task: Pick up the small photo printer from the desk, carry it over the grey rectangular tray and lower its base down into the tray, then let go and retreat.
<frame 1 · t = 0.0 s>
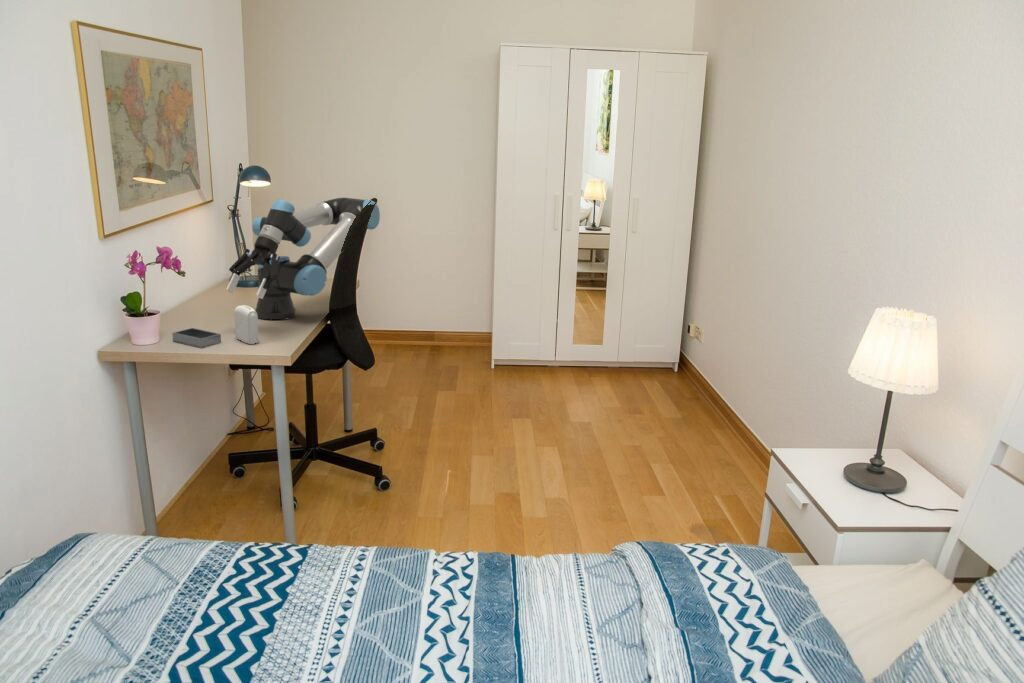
hand: (244, 294, 251), 15 cm above the table, tool tilted 35°, fingers open, 13 cm apart
grey rectangular tray: (197, 342, 247), on the table
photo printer: (247, 341, 251), on the table
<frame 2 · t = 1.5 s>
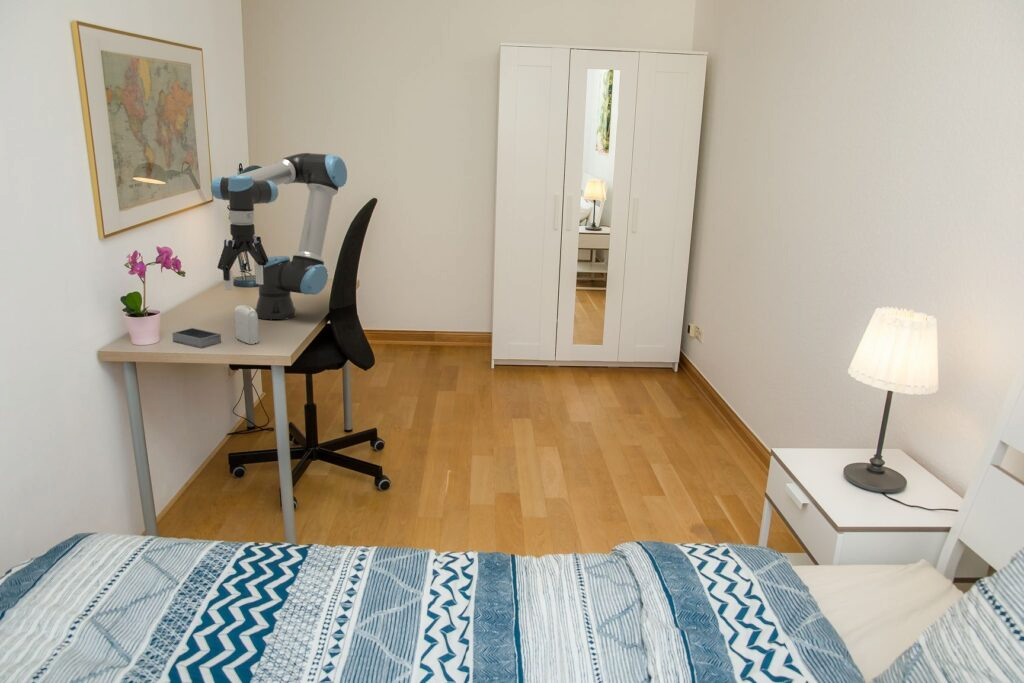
hand: (244, 287, 246), 19 cm above the table, tool pointing down, fingers open, 13 cm apart
nothing on the table moved.
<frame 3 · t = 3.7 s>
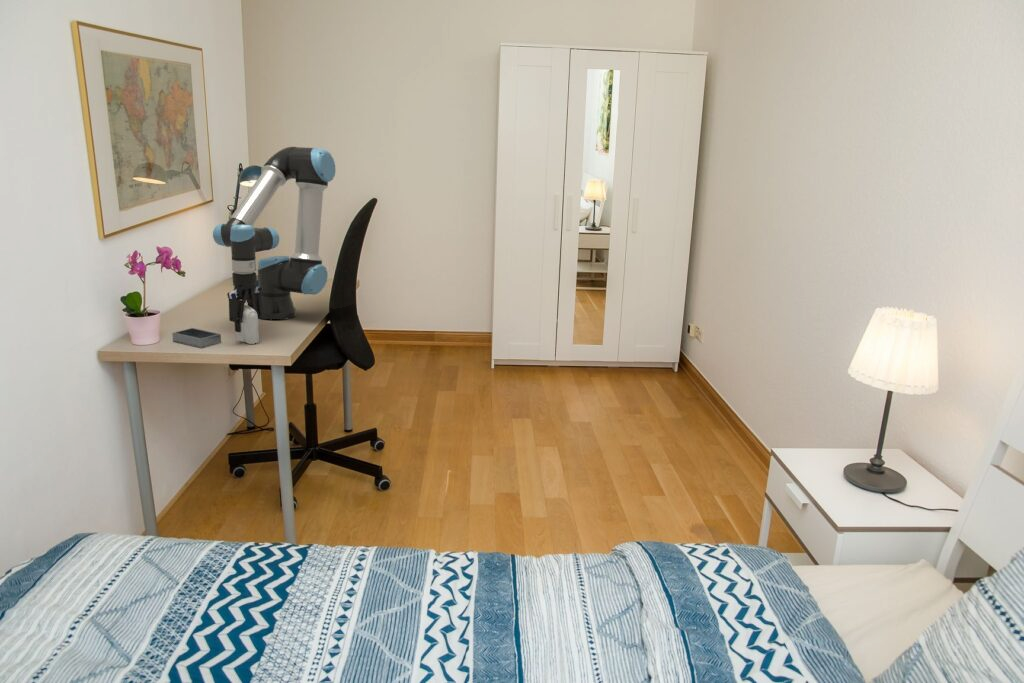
hand: (247, 338, 251), 1 cm above the table, tool pointing down, fingers closed on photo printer, 5 cm apart
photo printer: (247, 341, 251), on the table, touching gripper
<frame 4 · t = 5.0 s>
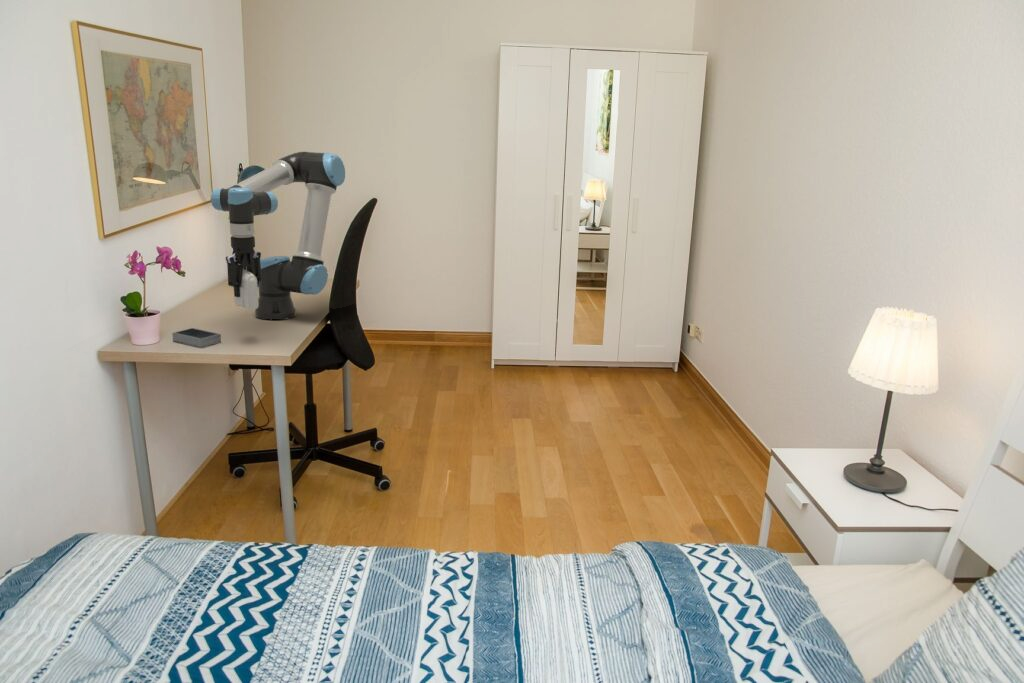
hand: (246, 304, 248), 13 cm above the table, tool pointing down, fingers closed on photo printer, 5 cm apart
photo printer: (246, 307, 248), point 12 cm above the table, touching gripper
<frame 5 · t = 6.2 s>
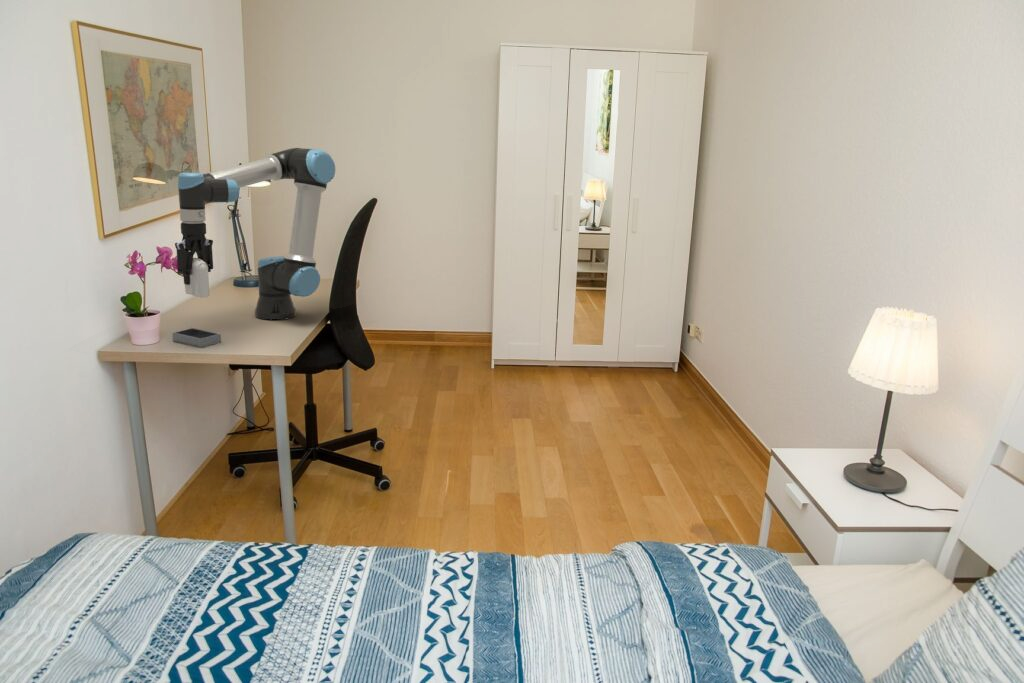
hand: (197, 292, 242), 17 cm above the table, tool pointing down, fingers closed on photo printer, 5 cm apart
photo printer: (197, 295, 242), point 16 cm above the table, touching gripper
when the fingers open (3 cm above the table, at t = 8.3 s): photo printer drops 2 cm, resting on grey rectangular tray.
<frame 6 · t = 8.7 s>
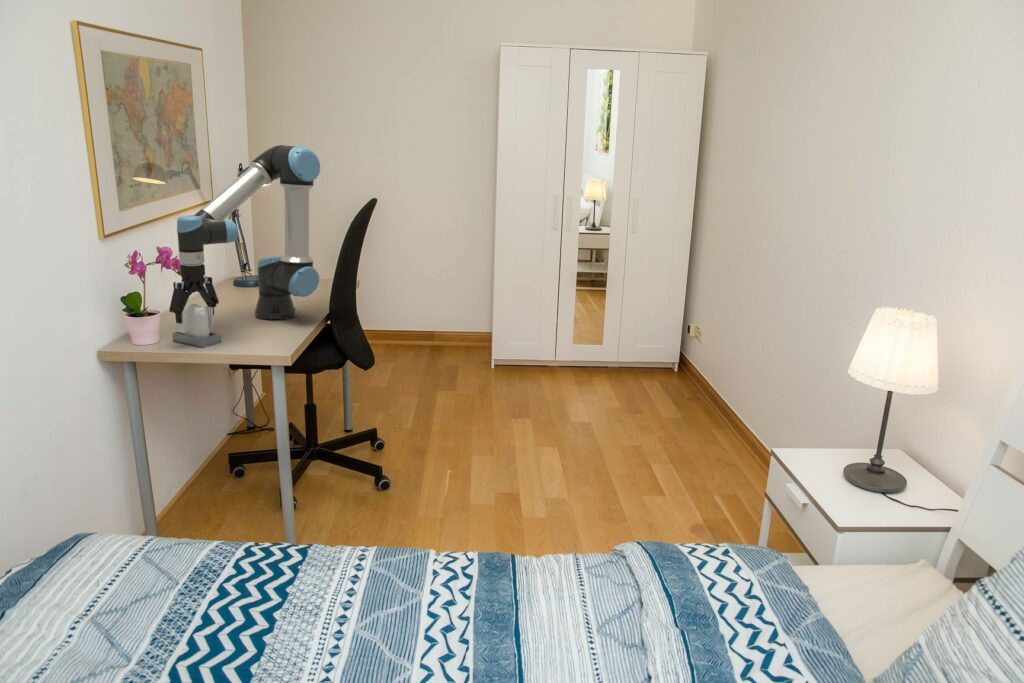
hand: (196, 328, 246), 5 cm above the table, tool pointing down, fingers open, 11 cm apart
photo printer: (197, 340, 247), resting on grey rectangular tray
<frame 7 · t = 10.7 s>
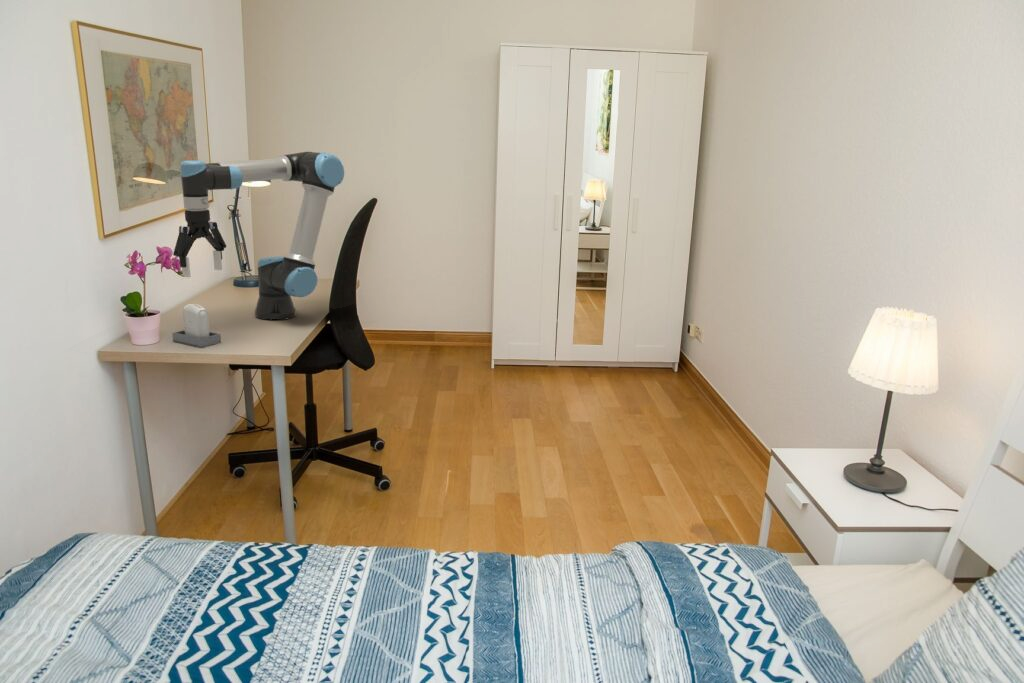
hand: (202, 273, 246), 23 cm above the table, tool pointing down, fingers open, 13 cm apart
nothing on the table moved.
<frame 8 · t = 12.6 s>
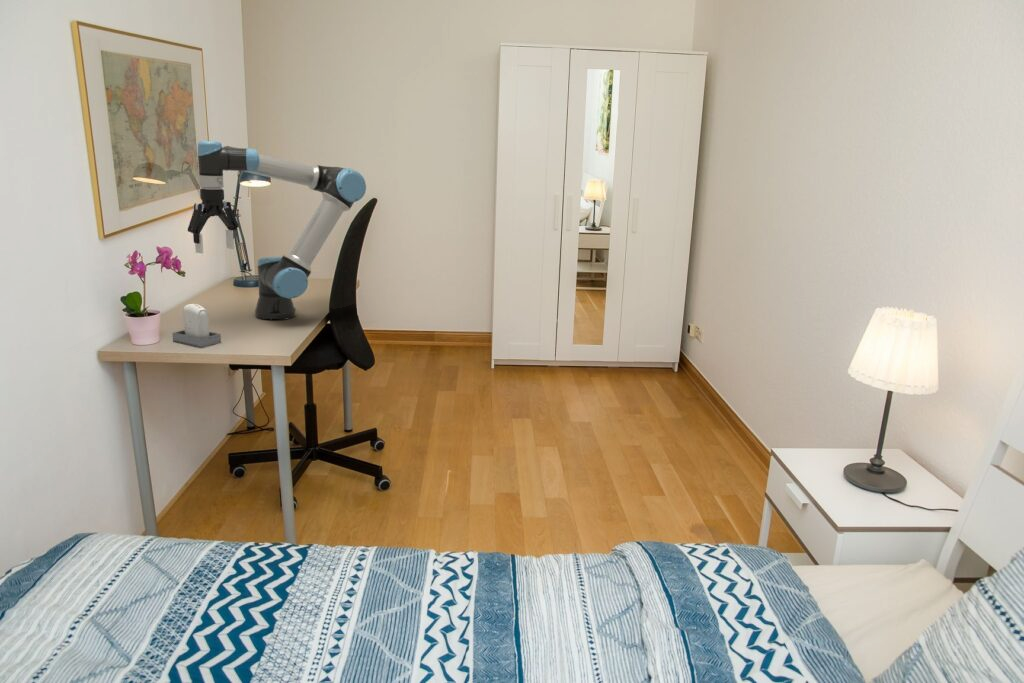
hand: (215, 250, 254), 29 cm above the table, tool pointing down, fingers open, 13 cm apart
nothing on the table moved.
at the end: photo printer inside the target area on the grey rectangular tray (0.1 cm from its centre), point 0.4 cm above the grey rectangular tray's base; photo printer tilted 0°; the gripper is holding nothing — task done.
